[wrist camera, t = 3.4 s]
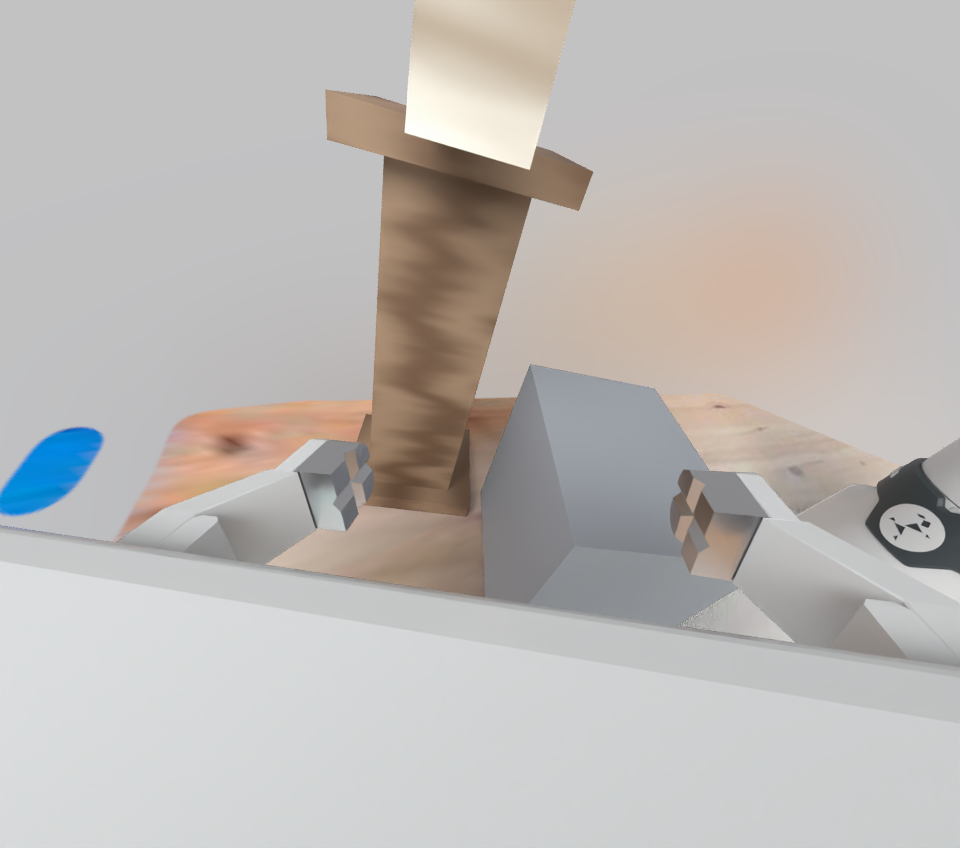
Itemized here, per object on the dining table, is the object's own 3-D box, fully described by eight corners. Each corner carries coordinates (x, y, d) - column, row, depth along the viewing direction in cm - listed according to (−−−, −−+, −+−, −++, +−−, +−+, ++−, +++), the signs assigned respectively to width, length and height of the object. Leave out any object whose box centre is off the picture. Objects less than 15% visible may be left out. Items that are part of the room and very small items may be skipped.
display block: (574, 503, 36) (654, 388, 27) (617, 661, 26) (773, 566, 16) (481, 491, 35) (530, 364, 25) (486, 655, 24) (575, 546, 15)
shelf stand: (466, 439, 40) (551, 150, 23) (466, 516, 32) (593, 171, 15) (365, 424, 38) (376, 96, 21) (340, 502, 30) (325, 89, 13)
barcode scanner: (567, 181, 9) (700, -213, 5) (358, 119, 8) (363, -398, 5) (507, 137, 22) (534, 15, 19) (427, 112, 21) (441, -20, 18)
